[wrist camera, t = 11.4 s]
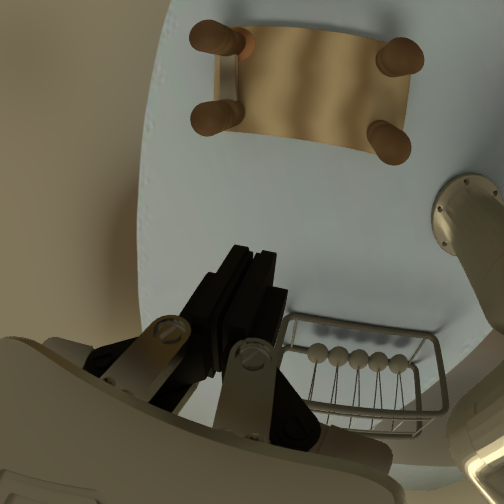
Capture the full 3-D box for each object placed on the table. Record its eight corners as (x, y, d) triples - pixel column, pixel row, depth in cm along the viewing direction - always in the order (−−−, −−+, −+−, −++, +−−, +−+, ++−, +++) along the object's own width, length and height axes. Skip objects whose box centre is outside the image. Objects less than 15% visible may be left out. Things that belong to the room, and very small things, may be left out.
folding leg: (244, 127, 32) (223, 136, 26) (217, 126, 33) (191, 136, 27) (245, 29, 25) (223, 17, 19) (216, 32, 26) (189, 22, 20)
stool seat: (408, 51, 23) (432, 40, 15) (394, 155, 31) (411, 178, 23) (223, 30, 27) (187, 16, 20) (218, 127, 35) (184, 141, 27)
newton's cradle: (438, 332, 43) (451, 415, 28) (416, 365, 48) (420, 440, 34) (284, 309, 49) (258, 395, 35) (280, 345, 55) (256, 422, 41)
